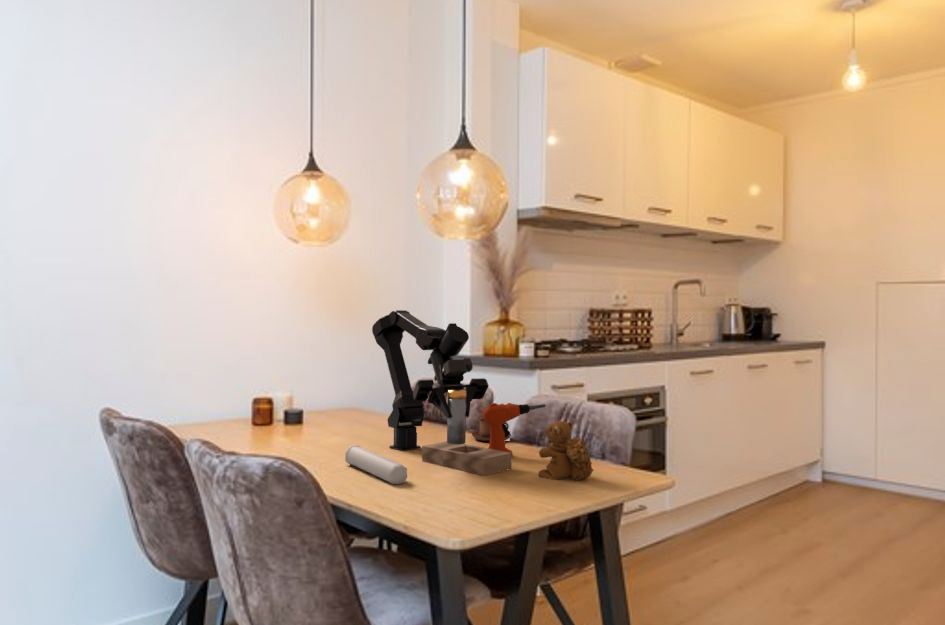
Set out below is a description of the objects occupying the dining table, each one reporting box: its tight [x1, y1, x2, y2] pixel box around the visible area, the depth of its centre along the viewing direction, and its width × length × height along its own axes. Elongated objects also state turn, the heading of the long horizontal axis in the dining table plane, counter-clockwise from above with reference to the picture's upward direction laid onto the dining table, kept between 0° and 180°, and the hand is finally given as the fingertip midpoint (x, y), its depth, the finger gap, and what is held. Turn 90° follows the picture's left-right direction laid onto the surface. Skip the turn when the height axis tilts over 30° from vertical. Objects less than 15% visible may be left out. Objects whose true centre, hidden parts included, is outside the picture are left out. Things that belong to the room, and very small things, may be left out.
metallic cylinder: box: [446, 389, 467, 444], centre depth 170 cm, size 5×5×13 cm
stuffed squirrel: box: [537, 420, 594, 481], centre depth 164 cm, size 10×14×13 cm
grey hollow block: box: [421, 441, 513, 476], centre depth 175 cm, size 22×10×4 cm, turn 47°
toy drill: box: [482, 402, 547, 455], centre depth 188 cm, size 5×19×15 cm, turn 106°
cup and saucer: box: [471, 418, 512, 443], centre depth 211 cm, size 12×12×6 cm
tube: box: [344, 444, 408, 485], centre depth 165 cm, size 5×5×25 cm
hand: (458, 416), depth 169 cm, fingers closed on metallic cylinder, 5 cm apart
